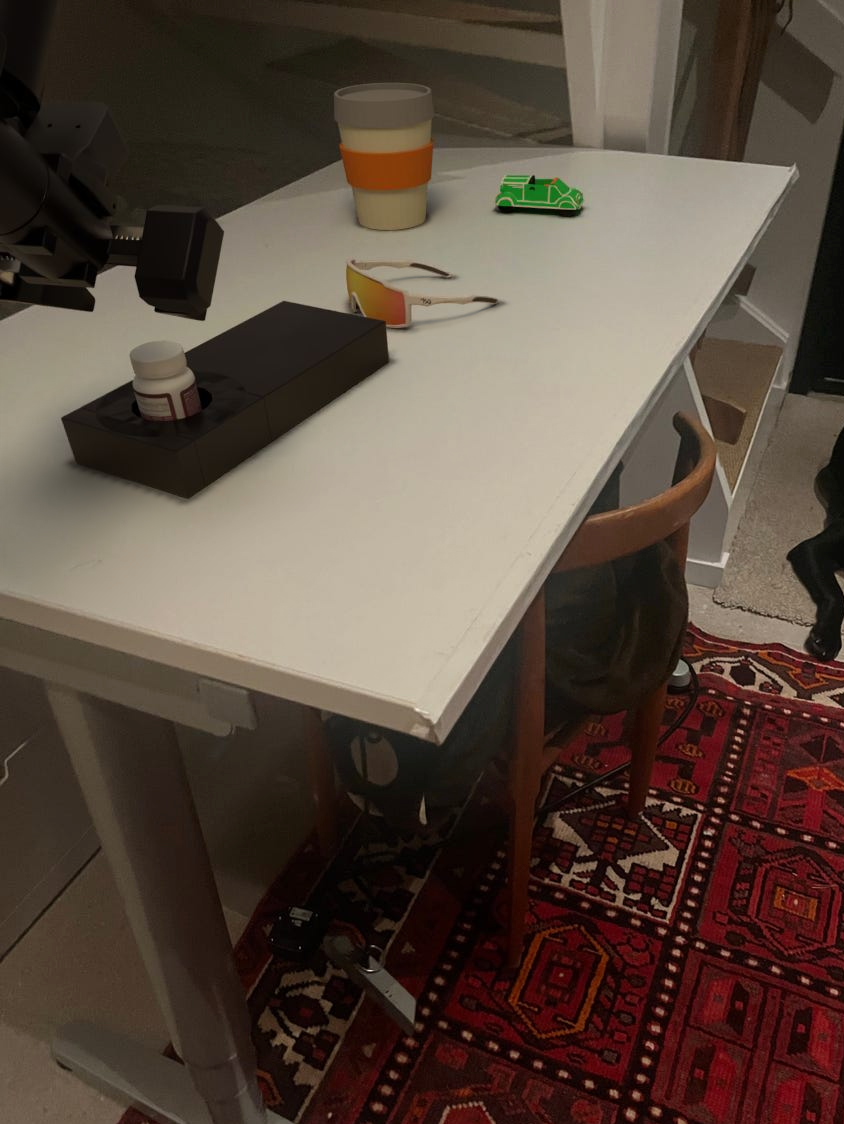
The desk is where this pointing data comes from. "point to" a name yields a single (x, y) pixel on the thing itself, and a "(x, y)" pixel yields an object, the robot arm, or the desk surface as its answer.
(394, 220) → the reusable coffee cup
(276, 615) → the desk surface
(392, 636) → the desk surface
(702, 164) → the desk surface
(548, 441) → the desk surface
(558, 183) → the toy car
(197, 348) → the base
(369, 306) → the sunglasses
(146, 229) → the robot arm
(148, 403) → the pill bottle
